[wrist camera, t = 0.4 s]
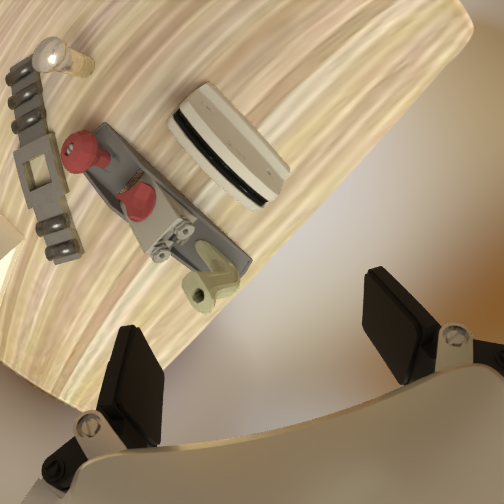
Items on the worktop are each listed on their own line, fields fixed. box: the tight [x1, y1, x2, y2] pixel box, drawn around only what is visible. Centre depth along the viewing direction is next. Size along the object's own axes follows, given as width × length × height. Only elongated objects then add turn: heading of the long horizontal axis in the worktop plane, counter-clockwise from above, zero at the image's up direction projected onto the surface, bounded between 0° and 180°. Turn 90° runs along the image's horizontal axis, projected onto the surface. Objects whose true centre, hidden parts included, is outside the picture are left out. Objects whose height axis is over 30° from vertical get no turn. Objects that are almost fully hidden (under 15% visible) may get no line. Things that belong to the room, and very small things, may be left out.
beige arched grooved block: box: [166, 82, 290, 212], centre depth 32 cm, size 17×5×10 cm, turn 42°
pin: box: [32, 37, 95, 78], centre depth 23 cm, size 4×4×11 cm
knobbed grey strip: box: [5, 54, 84, 265], centre depth 30 cm, size 32×7×3 cm, turn 9°
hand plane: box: [61, 123, 253, 314], centre depth 32 cm, size 7×31×15 cm, turn 42°
